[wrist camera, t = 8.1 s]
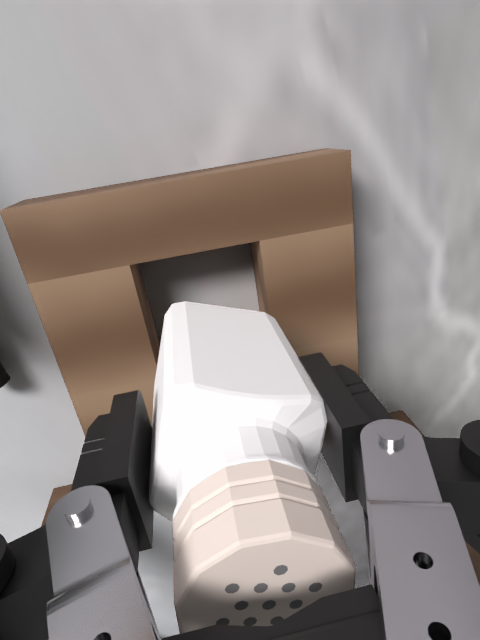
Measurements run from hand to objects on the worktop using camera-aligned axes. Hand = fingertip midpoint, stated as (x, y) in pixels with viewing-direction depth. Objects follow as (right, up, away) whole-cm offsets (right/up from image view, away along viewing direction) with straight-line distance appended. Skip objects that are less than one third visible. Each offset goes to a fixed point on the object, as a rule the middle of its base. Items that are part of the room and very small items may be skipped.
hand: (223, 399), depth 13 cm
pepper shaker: (0, +1, +3) cm, 4 cm away
